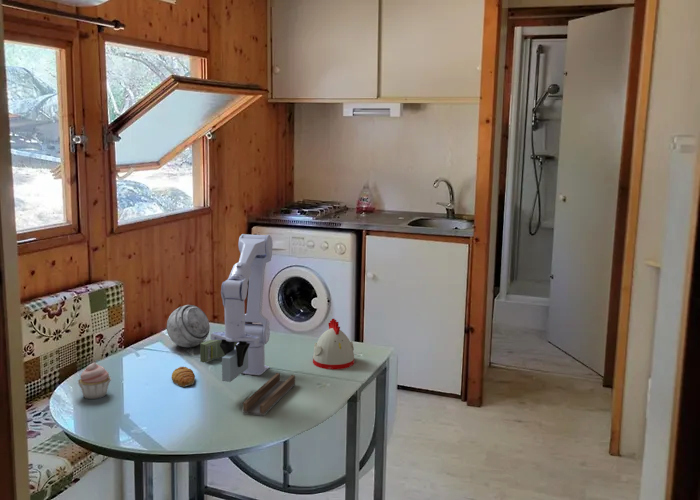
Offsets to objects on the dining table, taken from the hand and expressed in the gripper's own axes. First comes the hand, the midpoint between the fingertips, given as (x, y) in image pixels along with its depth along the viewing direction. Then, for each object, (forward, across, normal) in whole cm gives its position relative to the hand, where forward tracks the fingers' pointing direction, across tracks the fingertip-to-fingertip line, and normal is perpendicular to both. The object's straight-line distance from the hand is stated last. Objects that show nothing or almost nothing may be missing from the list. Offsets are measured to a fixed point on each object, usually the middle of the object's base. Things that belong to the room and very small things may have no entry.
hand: (235, 365), depth 199 cm
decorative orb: (+9, -35, +34) cm, 50 cm away
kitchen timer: (+9, +19, +35) cm, 41 cm away
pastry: (+9, -19, +4) cm, 22 cm away
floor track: (+9, +11, 0) cm, 14 cm away
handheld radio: (+9, -18, +32) cm, 38 cm away
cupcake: (+9, -38, -14) cm, 41 cm away
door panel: (+3, 0, 0) cm, 3 cm away
